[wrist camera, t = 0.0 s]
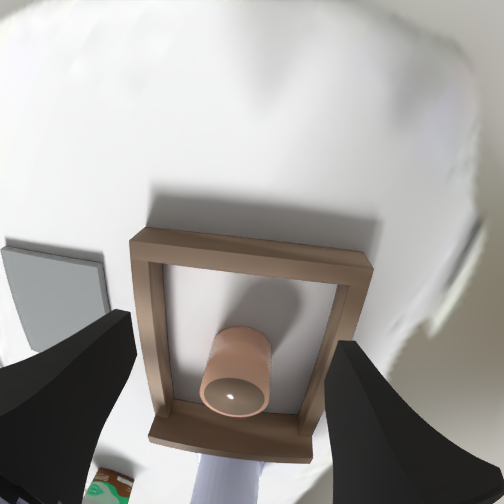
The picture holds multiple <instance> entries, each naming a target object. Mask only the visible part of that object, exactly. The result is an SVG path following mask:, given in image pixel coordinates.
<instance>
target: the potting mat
mask: <svg viewBox="0 0 504 504" xmlns="http://www.w3.org/2000/svg"><path fill="white" fill-rule="evenodd" d="M0 250H1V255H2V259H3V263H4V268H5V272H6V275H7V279H8V283H9V286H10V290H11V293H12V297H13V300H14V303H15V306H16V309H17V312H18V315H19V318H20V321H21V324H22V327H23V329H24V332H25V335H26V337H27V340H28V342H29V345H30V347H31V350H34V351H36V352H39V353H41V352H43V351H45V350H47V349H49V348H50V347H52V346H54V345H56V344H57V343H59V342H61V341H63V340H65V339H66V338H68V337H70V336H72V335H73V334H75V333H77V332H78V331H80V330H81V329H83V328H85V327H86V326H88V325H89V324H91V323H93V322H94V321H96V320H97V319H99V318H101V317H102V316H104V315H106V314H107V313H109V312H110V309H109V303H108V298H107V291H106V285H105V278H104V271H103V263H99V262H93V261H87V260H81V259H75V258H69V257H63V256H57V255H52V254H46V253H40V252H35V251H29V250H24V249H19V248H13V247H8V246H5V247H3V248H2V249H0Z"/></svg>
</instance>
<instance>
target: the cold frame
mask: <svg viewBox="0 0 504 504" xmlns="http://www.w3.org/2000/svg"><path fill="white" fill-rule="evenodd" d="M129 246H130V259H131V271H132V281H133V290H134V299H135V307H136V315H137V322H138V329H139V335H140V341H141V348H142V353H143V359H144V364H145V370H146V375H147V380H148V385H149V389H150V394H151V399H152V403H153V407H154V412H155V418H154V421H153V423H152V426H151V429H150V431H149V434H148V438H149V441H150V442H151V443H155V444H159V445H163V446H167V447H171V448H176V449H180V450H185V451H190V452H195V453H201V454H206V455H213V456H219V457H226V458H233V459H241V460H251V461H262V462H275V463H298V464H310V462H311V461H312V459H313V448H312V435H313V433H314V430H315V428H316V426H317V424H318V422H319V420H320V417H321V415H322V413H323V411H324V408H325V398H324V380H325V377H326V374H327V372H328V369H329V366H330V363H331V361H332V358H333V355H334V352H335V349H336V346H337V343H338V340H346V341H351V340H352V337H353V335H354V332H355V329H356V326H357V323H358V320H359V317H360V314H361V311H362V307H363V304H364V301H365V298H366V295H367V291H368V288H369V284H370V281H371V278H372V274H373V270H374V269H373V267H372V265H371V264H370V262H369V260H368V259H367V257H366V256H365V254H364V252H358V251H350V250H343V249H334V248H326V247H318V246H310V245H302V244H293V243H285V242H276V241H268V240H259V239H251V238H242V237H233V236H224V235H215V234H206V233H197V232H188V231H178V230H169V229H159V228H150V227H145V228H143V229H142V230H141V231H140V232H139V233H137V234H136V235H135V236H134V237H133V238H132V239H130V240H129ZM163 263H164V264H171V265H179V266H186V267H194V268H202V269H210V270H218V271H226V272H234V273H242V274H250V275H259V276H268V277H276V278H285V279H294V280H303V281H312V282H322V283H331V284H338V286H337V290H336V294H335V298H334V302H333V306H332V310H331V313H330V317H329V320H328V324H327V328H326V331H325V335H324V338H323V341H322V345H321V348H320V351H319V355H318V358H317V361H316V364H315V368H314V371H313V374H312V377H311V380H310V383H309V386H308V389H307V392H306V395H305V398H304V401H303V404H302V406H301V409H300V412H299V415H288V414H274V413H263V412H260V413H258V414H255V415H252V416H248V417H231V416H226V415H223V414H220V413H218V412H215V411H214V410H212V409H210V408H209V407H208V406H207V405H203V404H198V403H192V402H187V401H182V400H177V399H174V393H173V385H172V377H171V369H170V360H169V350H168V340H167V329H166V316H165V302H164V285H163Z"/></svg>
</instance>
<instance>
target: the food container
mask: <svg viewBox="0 0 504 504" xmlns="http://www.w3.org/2000/svg"><path fill="white" fill-rule="evenodd" d="M133 483H134V480H133V479H131V478H129V477H127V476H125V475H123V474H121V473H118V472H115V471H113V470H109V469H105V468H100V469H99V470H98V471H97V473H96V475H95V477H94V479H93V481H92V483H91V484H90V486H89V488H88V490H87V492H86V494H85V496H84V498H83V500H82V504H128V501H129V497H130V494H131V490H132V486H133Z"/></svg>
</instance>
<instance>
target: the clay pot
mask: <svg viewBox="0 0 504 504" xmlns="http://www.w3.org/2000/svg"><path fill="white" fill-rule="evenodd" d="M271 351H272V350H271V344H270V342H269V340H268V339H267V338H266V337H265V336H264V335H263V334H262V333H260V332H259V331H257V330H255V329H252V328H249V327H243V326H235V327H230V328H227V329H224V330H222V331H221V332H219V333H218V334H217V335H216V337H215V338H214V341H213V344H212V348H211V351H210V355H209V358H208V362H207V365H206V369H205V372H204V376H203V380H202V383H201V387H200V392H199V393H200V397H201V399H202V401H203V402H204V403H205V404H206V405H207V406H208V407H209V408H210V409H212V410H214V411H215V412H218V413H220V414H223V415H226V416H231V417H248V416H252V415H255V414H258V413H260V412H261V411H263V410H264V409H265V408H266V407H267V405H268V403H269V395H270V374H271Z"/></svg>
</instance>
